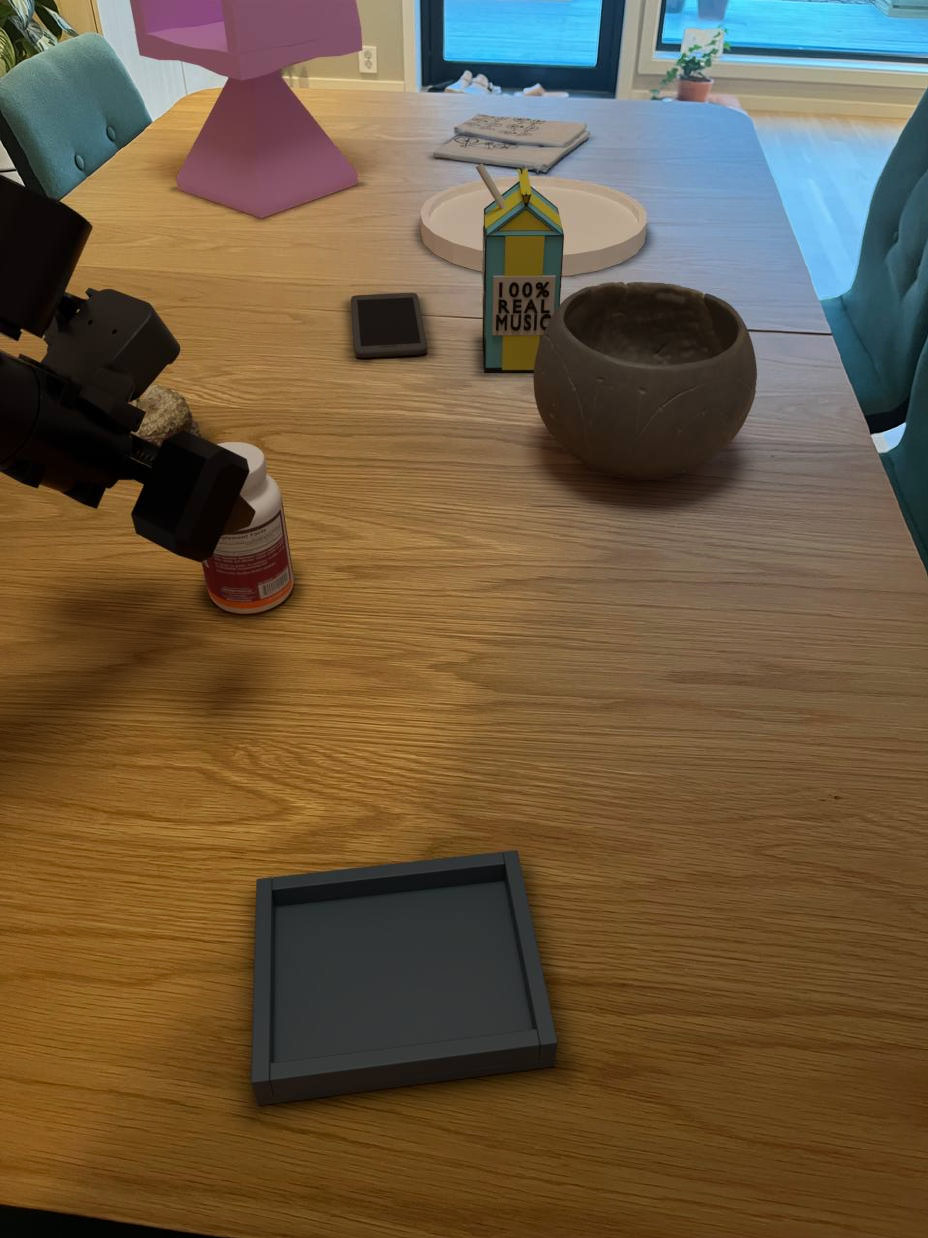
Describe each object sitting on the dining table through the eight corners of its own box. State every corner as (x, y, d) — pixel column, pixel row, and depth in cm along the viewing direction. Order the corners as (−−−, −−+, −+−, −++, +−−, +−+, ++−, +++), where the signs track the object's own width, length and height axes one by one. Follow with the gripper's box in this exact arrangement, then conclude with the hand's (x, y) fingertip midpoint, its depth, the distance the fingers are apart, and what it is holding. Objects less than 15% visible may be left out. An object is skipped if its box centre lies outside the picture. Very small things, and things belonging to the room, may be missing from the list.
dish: (257, 1106, 46) (250, 1082, 44) (262, 904, 54) (256, 878, 52) (554, 1067, 47) (557, 1042, 46) (516, 875, 55) (517, 849, 54)
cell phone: (417, 297, 112) (417, 291, 111) (428, 355, 101) (428, 348, 101) (350, 301, 111) (350, 294, 111) (354, 359, 101) (354, 352, 100)
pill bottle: (217, 563, 76) (191, 434, 69) (300, 563, 76) (282, 434, 69) (200, 617, 71) (170, 485, 64) (288, 618, 71) (268, 485, 64)
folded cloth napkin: (591, 137, 158) (592, 122, 156) (545, 175, 144) (546, 159, 142) (478, 123, 164) (479, 108, 162) (424, 158, 150) (423, 143, 148)
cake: (224, 447, 90) (216, 394, 86) (122, 493, 84) (110, 439, 81) (161, 399, 94) (151, 347, 91) (62, 440, 89) (47, 387, 85)
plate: (588, 295, 113) (589, 273, 111) (377, 248, 123) (376, 227, 122) (678, 217, 131) (681, 197, 130) (488, 182, 142) (488, 163, 140)
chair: (164, 189, 140) (115, -73, 120) (274, 155, 151) (245, -90, 132) (261, 222, 130) (224, -58, 110) (370, 183, 141) (354, -77, 122)
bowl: (691, 395, 95) (712, 262, 87) (775, 501, 82) (810, 356, 74) (507, 415, 93) (511, 280, 84) (563, 529, 79) (574, 381, 71)
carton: (474, 339, 104) (475, 153, 93) (550, 339, 104) (560, 152, 93) (475, 373, 99) (476, 179, 87) (555, 372, 99) (567, 179, 87)
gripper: (190, 310, 47) (362, 422, 61) (-45, 225, 56) (154, 340, 69) (93, 530, 48) (286, 591, 61) (-125, 412, 56) (88, 489, 70)
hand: (200, 493), depth 66 cm, fingers open, 9 cm apart
